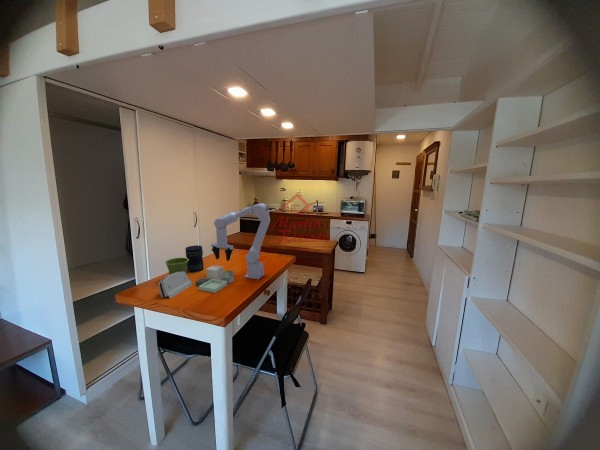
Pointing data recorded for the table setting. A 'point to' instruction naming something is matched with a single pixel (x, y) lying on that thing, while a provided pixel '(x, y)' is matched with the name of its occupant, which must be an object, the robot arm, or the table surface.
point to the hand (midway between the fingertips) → (222, 259)
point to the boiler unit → (214, 272)
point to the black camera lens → (194, 259)
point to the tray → (213, 285)
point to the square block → (201, 281)
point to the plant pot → (177, 265)
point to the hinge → (174, 284)
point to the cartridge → (228, 276)
